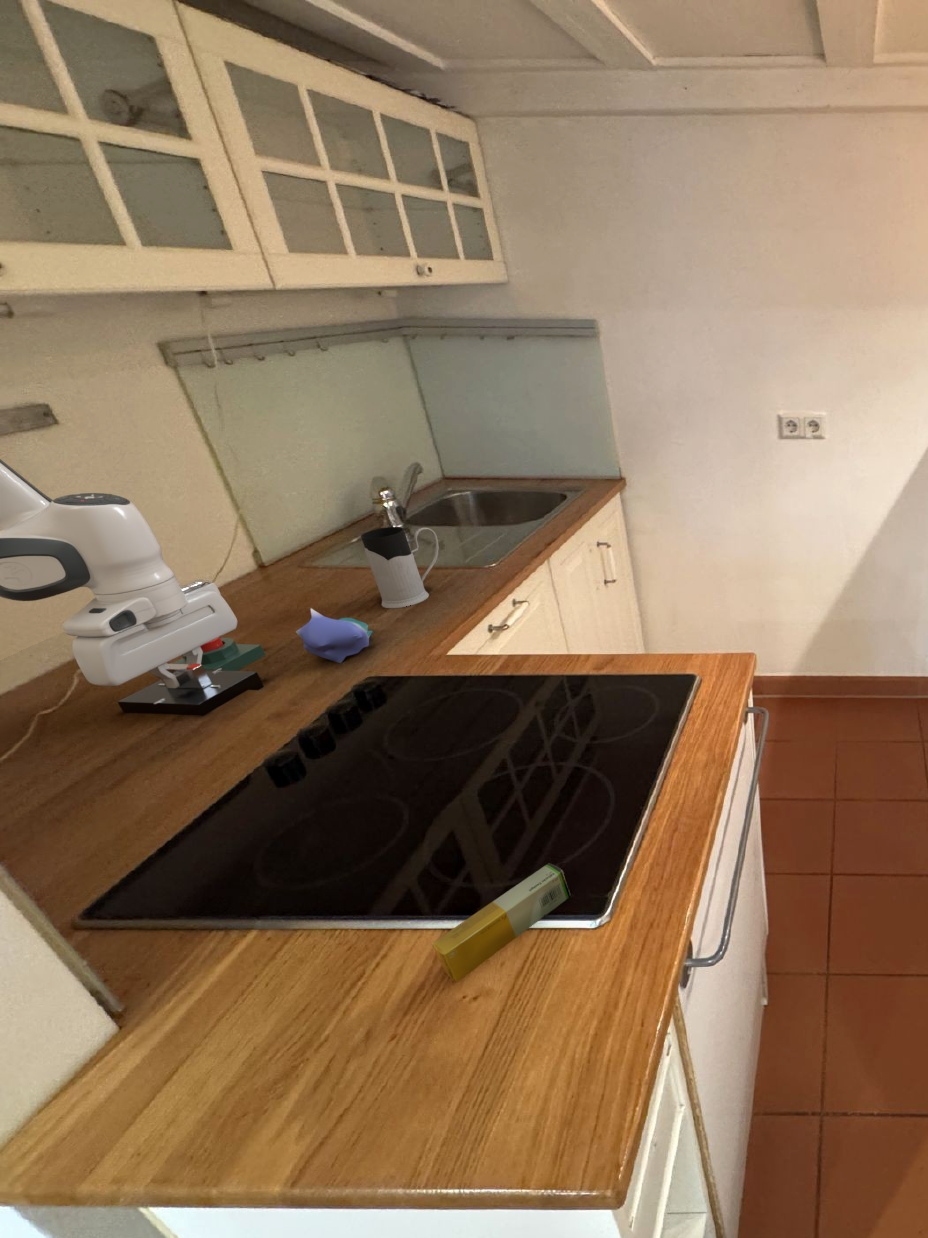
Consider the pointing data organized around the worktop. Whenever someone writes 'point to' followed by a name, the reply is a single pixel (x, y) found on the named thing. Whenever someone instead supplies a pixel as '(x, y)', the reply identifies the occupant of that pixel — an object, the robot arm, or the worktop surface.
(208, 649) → the button
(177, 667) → the grey switch lever
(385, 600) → the glass holder
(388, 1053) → the worktop surface
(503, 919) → the medication box
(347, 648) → the figurine
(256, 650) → the green control housing
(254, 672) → the base
